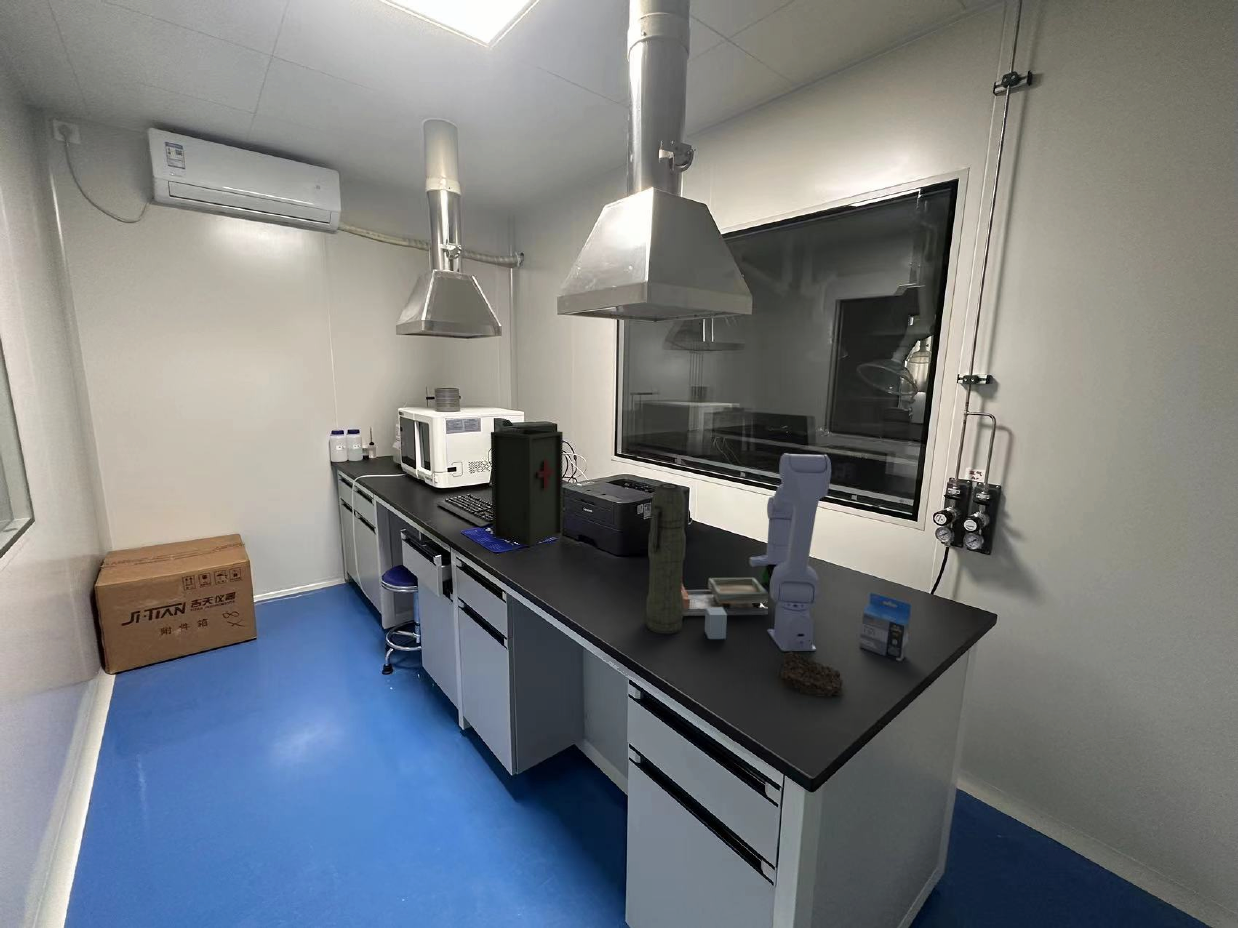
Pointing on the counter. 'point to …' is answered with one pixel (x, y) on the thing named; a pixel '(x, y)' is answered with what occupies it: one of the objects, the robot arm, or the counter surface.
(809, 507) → the robot arm
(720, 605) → the rail
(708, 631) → the block
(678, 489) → the thermos
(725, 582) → the shallow open tray
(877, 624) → the label tape box
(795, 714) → the counter surface
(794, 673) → the brown porous oval lump
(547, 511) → the first aid box
